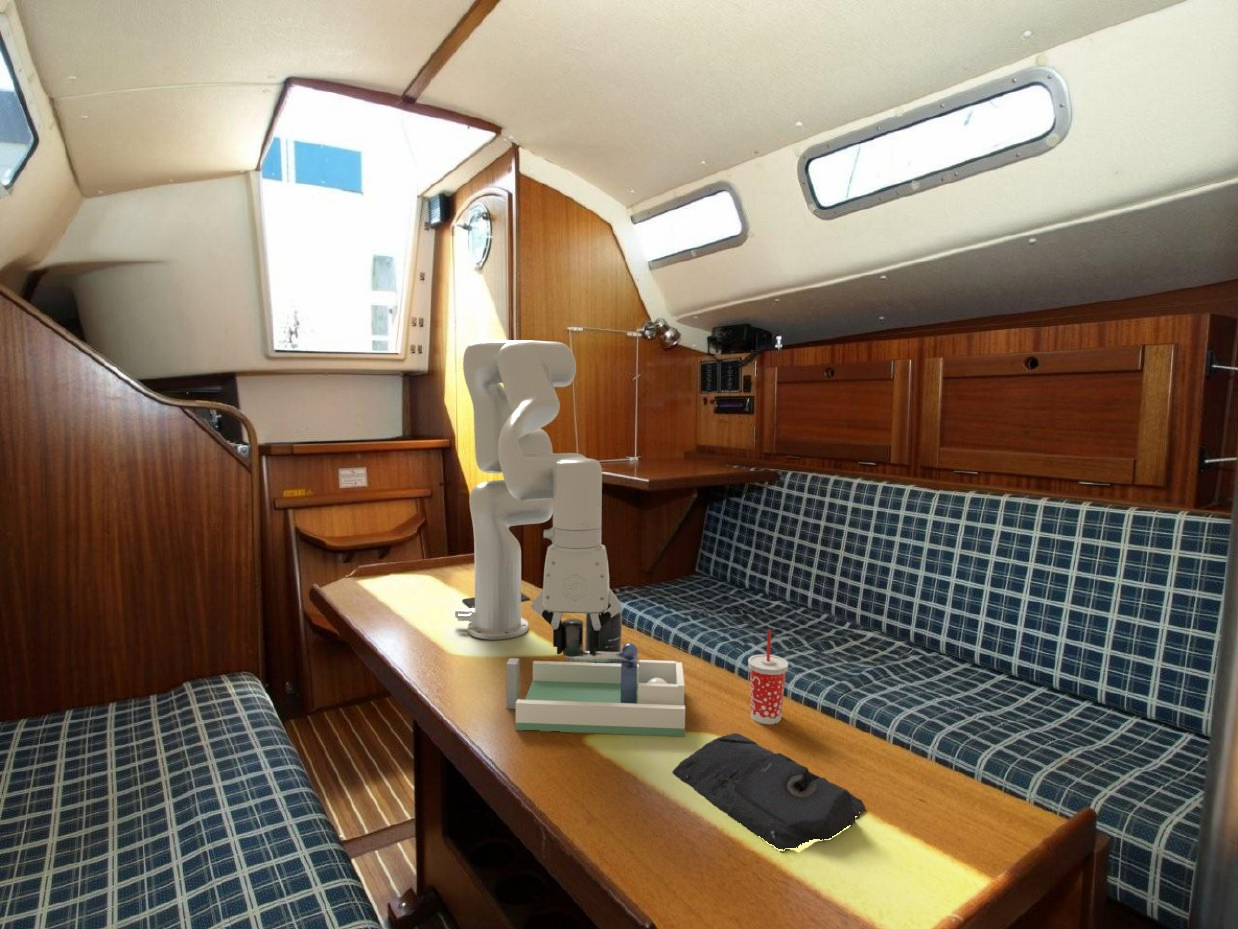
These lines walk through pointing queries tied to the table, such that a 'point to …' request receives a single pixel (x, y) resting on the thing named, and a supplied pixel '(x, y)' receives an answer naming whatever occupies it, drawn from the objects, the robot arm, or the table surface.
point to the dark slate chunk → (768, 792)
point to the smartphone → (471, 601)
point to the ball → (657, 681)
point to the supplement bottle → (606, 634)
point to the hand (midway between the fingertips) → (576, 650)
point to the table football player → (602, 657)
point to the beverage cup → (767, 686)
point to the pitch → (598, 698)
